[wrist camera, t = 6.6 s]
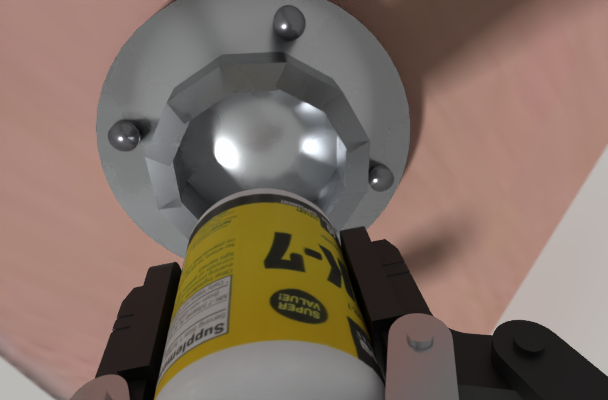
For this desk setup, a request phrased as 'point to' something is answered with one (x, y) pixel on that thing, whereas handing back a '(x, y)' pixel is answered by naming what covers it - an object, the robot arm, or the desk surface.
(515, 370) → the robot arm
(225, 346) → the supplement bottle
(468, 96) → the desk surface
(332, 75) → the hub plate
